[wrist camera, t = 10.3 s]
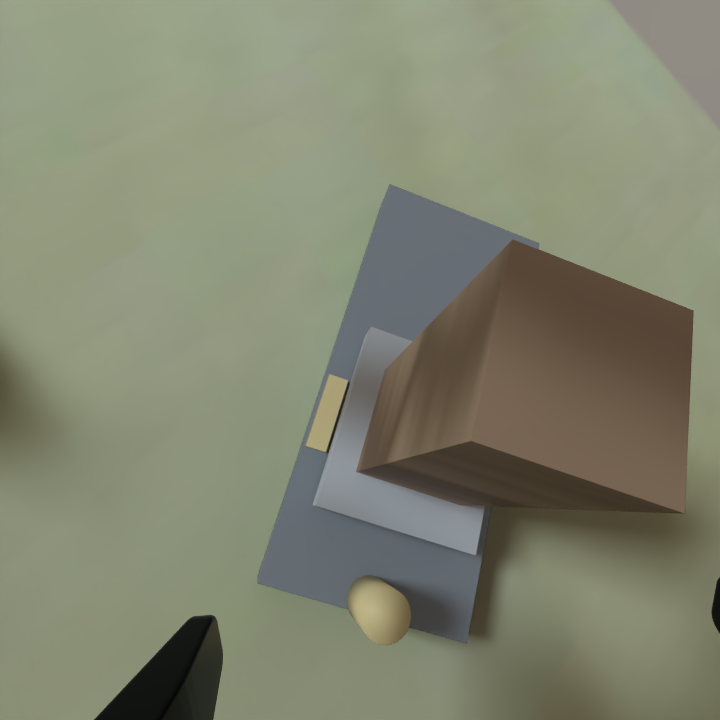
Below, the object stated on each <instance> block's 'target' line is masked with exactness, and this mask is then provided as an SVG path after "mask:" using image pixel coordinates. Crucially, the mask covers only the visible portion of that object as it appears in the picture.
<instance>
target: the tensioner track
mask: <svg viewBox="0 0 720 720" xmlns="http://www.w3.org/2000/svg"><path fill="white" fill-rule="evenodd" d="M512 239H513V240H516V241H518V242H521V243H523V244H526V245H529V246H531V247H534V248H536V249H539V243H537V242H534V241H532V240H529V239H527V238H524V237H522V236H519V235H517V234H514V233H512V232H509V231H507V230H504V229H502V228H499V227H497V226H494V225H492V224H489V223H487V222H484V221H482V220H479V219H476V218H474V217H471V216H469V215H466V214H464V213H461V212H459V211H456V210H454V209H451V208H449V207H446V206H444V205H441V204H439V203H436V202H434V201H431V200H429V199H426V198H423V197H421V196H418V195H416V194H413V193H411V192H408V191H406V190H403V189H401V188H398V187H396V186H393V185H391V184H390V185H389V187H388V190H387V192H386V194H385V197H384V199H383V202H382V204H381V207H380V210H379V213H378V216H377V219H376V222H375V225H374V228H373V231H372V234H371V237H370V240H369V243H368V246H367V249H366V252H365V255H364V258H363V261H362V264H361V267H360V270H359V273H358V276H357V279H356V282H355V285H354V288H353V291H352V294H351V297H350V300H349V303H348V306H347V309H346V312H345V315H344V318H343V321H342V324H341V327H340V330H339V333H338V336H337V339H336V342H335V345H334V348H333V351H332V354H331V357H330V360H329V363H328V366H327V369H326V372H325V375H324V378H323V381H322V384H321V387H320V390H319V394H318V397H317V400H316V403H315V406H314V409H313V412H312V415H311V418H310V421H309V424H308V427H307V430H306V433H305V436H304V439H303V442H302V445H301V448H300V451H299V454H298V457H297V460H296V463H295V466H294V469H293V472H292V475H291V478H290V481H289V484H288V487H287V490H286V493H285V496H284V499H283V502H282V505H281V508H280V511H279V514H278V517H277V520H276V523H275V526H274V529H273V532H272V535H271V538H270V541H269V544H268V547H267V550H266V553H265V556H264V559H263V562H262V565H261V568H260V571H259V574H258V579H257V583H258V584H261V585H265V586H268V587H272V588H275V589H279V590H282V591H286V592H289V593H293V594H296V595H300V596H303V597H307V598H310V599H314V600H317V601H320V602H324V603H327V604H331V605H334V606H338V607H341V608H345V609H348V610H349V612H350V614H351V616H352V617H353V618H354V619H355V621H356V622H357V623H358V625H359V626H360V627H361V628H362V630H363V631H364V632H365V634H366V635H367V636H368V637H369V638H370V639H371V640H372V641H373V642H375V643H377V644H380V645H391V644H394V643H396V642H398V641H399V640H400V639H401V638H402V637H403V636H404V635H405V634H406V632H407V630H408V628H409V627H411V628H414V629H418V630H421V631H425V632H428V633H432V634H435V635H439V636H442V637H446V638H449V639H452V640H456V641H459V642H463V643H466V644H467V639H468V633H469V628H470V622H471V617H472V611H473V606H474V600H475V595H476V589H477V584H478V578H479V573H480V567H481V562H482V556H483V551H484V545H485V540H486V534H487V529H488V523H489V518H490V512H491V507H492V506H485V509H484V514H483V519H482V525H481V530H480V535H479V541H478V546H477V551H476V555H472V554H468V553H465V552H461V551H458V550H455V549H452V548H448V547H445V546H442V545H439V544H435V543H432V542H429V541H426V540H423V539H419V538H416V537H413V536H410V535H406V534H403V533H400V532H397V531H394V530H390V529H387V528H384V527H381V526H377V525H374V524H371V523H368V522H365V521H361V520H358V519H355V518H352V517H349V516H345V515H342V514H339V513H336V512H332V511H329V510H326V509H323V508H320V507H316V506H313V502H314V498H315V495H316V492H317V489H318V486H319V482H320V479H321V476H322V473H323V470H324V466H325V463H326V460H327V457H328V453H329V450H330V447H331V444H332V441H333V437H334V434H335V431H336V428H337V424H338V421H339V418H340V415H341V412H342V408H343V405H344V402H345V399H346V396H347V392H348V389H349V386H350V383H351V379H352V376H353V373H354V370H355V367H356V363H357V360H358V357H359V354H360V350H361V347H362V344H363V341H364V338H365V336H366V334H367V332H368V331H369V329H370V328H371V327H374V328H377V329H379V330H382V331H385V332H388V333H391V334H393V335H396V336H399V337H402V338H404V339H407V340H410V341H414V340H415V339H416V338H417V336H418V335H419V334H420V333H421V332H422V331H423V330H424V329H425V328H426V327H427V326H428V325H429V324H430V323H431V322H432V321H433V320H434V319H435V318H436V317H437V316H438V315H439V314H440V313H441V312H442V311H443V310H444V309H445V308H446V307H447V306H448V305H449V304H450V303H451V302H452V301H453V300H454V299H455V298H456V297H457V296H458V295H459V294H460V293H461V292H462V291H463V289H464V288H465V287H466V286H467V285H468V284H469V283H470V282H471V281H472V280H473V279H474V278H475V277H476V276H477V275H478V274H479V273H480V272H481V271H482V270H483V269H484V268H485V267H486V266H487V265H488V264H489V263H490V262H491V261H492V260H493V259H494V258H495V257H496V256H497V255H498V254H499V253H500V252H501V251H502V250H503V249H504V248H505V247H506V246H507V245H508V244H509V242H510V241H511V240H512Z"/></svg>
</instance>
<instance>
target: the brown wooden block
mask: <svg viewBox="0 0 720 720" xmlns="http://www.w3.org/2000/svg"><path fill="white" fill-rule="evenodd" d="M693 312H694V311H693V310H691V309H688V308H686V307H683V306H680V305H678V304H675V303H673V302H670V301H668V300H665V299H663V298H660V297H658V296H655V295H653V294H650V293H648V292H645V291H642V290H640V289H637V288H635V287H632V286H630V285H627V284H625V283H622V282H620V281H617V280H615V279H612V278H610V277H607V276H605V275H602V274H599V273H597V272H594V271H592V270H589V269H587V268H584V267H582V266H579V265H577V264H574V263H572V262H569V261H567V260H564V259H561V258H559V257H556V256H554V255H551V254H549V253H546V252H544V251H541V250H539V249H536V248H534V247H531V246H529V245H526V244H523V243H521V242H518V241H516V240H513V239H512V240H511V241H510V242H509V244H508V245H507V246H506V247H505V248H504V249H503V250H502V251H501V252H500V253H499V254H498V255H497V256H496V257H495V258H494V259H493V260H492V261H491V262H490V263H489V264H488V265H487V266H486V267H485V268H484V269H483V270H482V271H481V272H480V273H479V274H478V275H477V276H476V277H475V278H474V279H473V280H472V281H471V282H470V283H469V284H468V285H467V286H466V287H465V288H464V289H463V291H462V292H461V293H460V294H459V295H458V296H457V297H456V298H455V299H454V300H453V301H452V302H451V303H450V304H449V305H448V306H447V307H446V308H445V309H444V310H443V311H442V312H441V313H440V314H439V315H438V316H437V317H436V318H435V319H434V320H433V321H432V322H431V323H430V324H429V325H428V326H427V327H426V328H425V329H424V330H423V331H422V332H421V333H420V334H419V335H418V336H417V338H416V339H415V340H414V341H410V340H407V339H404V338H402V337H399V336H396V335H393V334H391V333H388V332H385V331H382V330H379V329H377V328H374V327H371V328H370V329H369V331H368V332H367V334H366V336H365V338H364V341H363V344H362V347H361V350H360V354H359V357H358V360H357V363H356V367H355V370H354V373H353V376H352V379H351V383H350V386H349V389H348V392H347V396H346V399H345V402H344V405H343V408H342V412H341V415H340V418H339V421H338V424H337V428H336V431H335V434H334V437H333V441H332V444H331V447H330V450H329V453H328V457H327V460H326V463H325V466H324V470H323V473H322V476H321V479H320V482H319V486H318V489H317V492H316V495H315V498H314V502H313V506H316V507H320V508H323V509H326V510H329V511H332V512H336V513H339V514H342V515H345V516H349V517H352V518H355V519H358V520H361V521H365V522H368V523H371V524H374V525H377V526H381V527H384V528H387V529H390V530H394V531H397V532H400V533H403V534H406V535H410V536H413V537H416V538H419V539H423V540H426V541H429V542H432V543H435V544H439V545H442V546H445V547H448V548H452V549H455V550H458V551H461V552H465V553H468V554H472V555H476V551H477V546H478V541H479V535H480V530H481V525H482V519H483V514H484V509H485V506H502V507H528V508H555V509H581V510H607V511H634V512H660V513H685V495H686V472H687V449H688V427H689V404H690V381H691V358H692V335H693Z"/></svg>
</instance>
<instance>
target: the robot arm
mask: <svg viewBox="0 0 720 720" xmlns="http://www.w3.org/2000/svg"><path fill="white" fill-rule="evenodd" d="M712 618H713V622H714V624H715V626H716V628H717V630H718V631H719V633H720V578H719V579H718V580H717V584H716V589H715V595H714V600H713V605H712ZM222 664H223V650H222V644H221V639H220V634H219V629H218V623H217V620H216V618H215V616H213V615H205V616H194V617H191V618H190V619H189V620H188V621H187V622H186V623H185V624H184V625H183V626H182V627H181V628H180V629H179V630H178V631H177V632H176V633H175V634H174V635H173V636H172V637H171V639H170V640H169V641H168V642H167V643H166V644H165V645H164V646H163V647H162V648H161V649H160V650H159V651H158V652H157V653H156V654H155V656H154V657H153V658H152V659H151V660H150V661H149V662H148V663H147V664H146V665H145V666H144V667H143V668H142V669H141V670H140V671H139V673H138V674H137V675H136V676H135V677H134V678H133V679H132V680H131V681H130V682H129V683H128V684H127V685H126V686H125V687H124V688H123V690H122V691H121V692H120V693H119V694H118V695H117V696H116V697H115V698H114V699H113V700H112V701H111V702H110V703H109V704H108V705H107V707H106V708H105V709H104V710H103V711H102V712H101V713H100V714H99V715H98V716H97V717H96V718H95V719H94V720H213V718H214V712H215V706H216V700H217V694H218V688H219V682H220V677H221V671H222Z"/></svg>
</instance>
